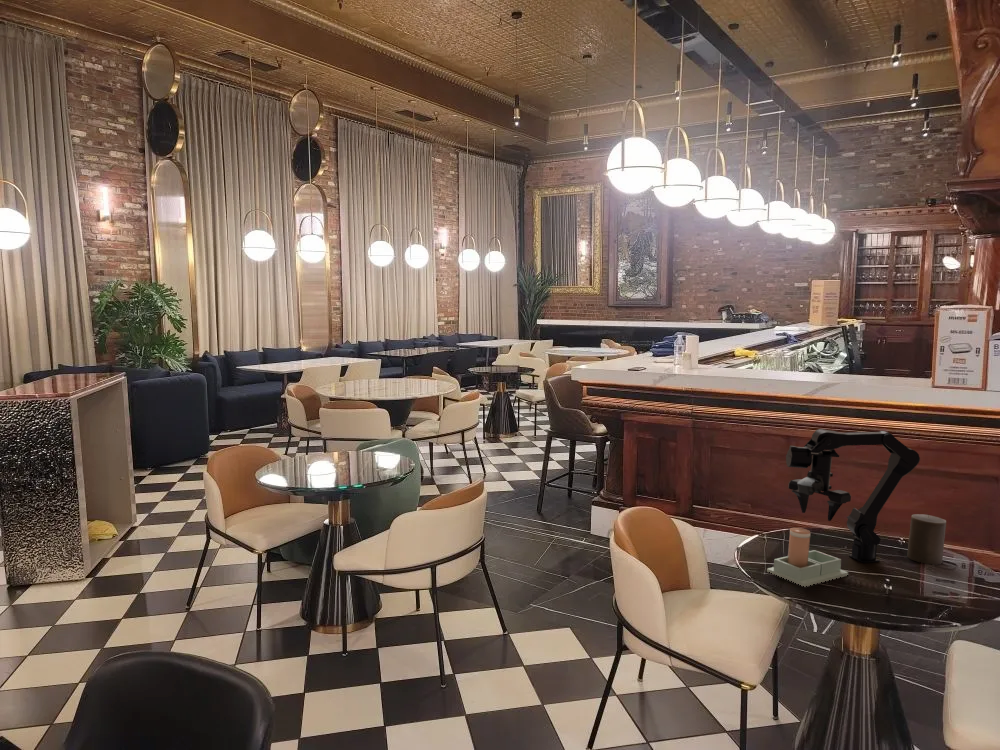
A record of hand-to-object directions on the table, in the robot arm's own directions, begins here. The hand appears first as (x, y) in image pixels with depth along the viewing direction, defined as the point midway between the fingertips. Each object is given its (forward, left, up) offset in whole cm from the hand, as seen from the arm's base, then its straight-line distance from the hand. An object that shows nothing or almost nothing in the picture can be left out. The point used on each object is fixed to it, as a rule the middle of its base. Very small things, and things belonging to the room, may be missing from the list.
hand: (816, 516), depth 222 cm
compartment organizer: (+13, +13, -13) cm, 22 cm away
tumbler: (+17, +14, -12) cm, 25 cm away
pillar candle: (-34, +10, -13) cm, 38 cm away
